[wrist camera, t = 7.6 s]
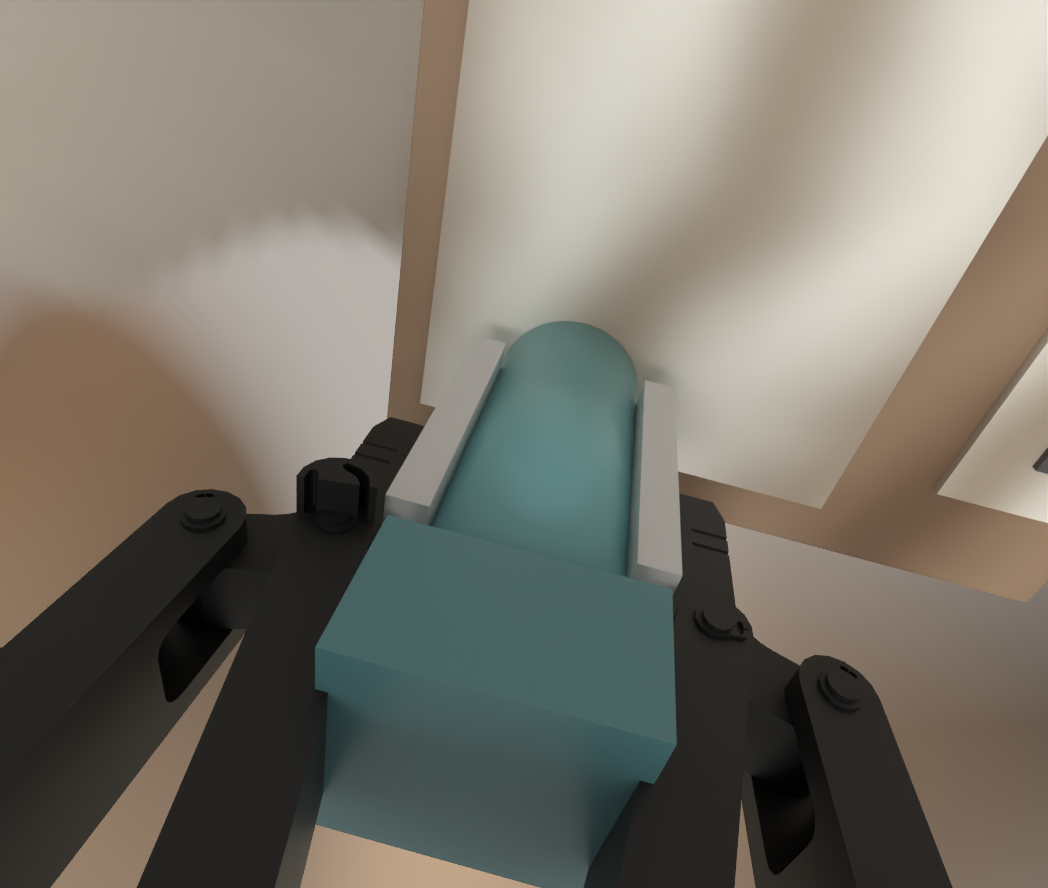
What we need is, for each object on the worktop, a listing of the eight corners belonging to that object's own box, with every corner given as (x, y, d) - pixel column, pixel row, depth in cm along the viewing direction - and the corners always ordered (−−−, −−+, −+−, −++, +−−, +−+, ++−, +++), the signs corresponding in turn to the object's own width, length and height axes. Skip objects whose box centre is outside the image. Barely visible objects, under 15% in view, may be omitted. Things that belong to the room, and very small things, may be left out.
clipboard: (396, 416, 21) (380, 441, 20) (468, -307, 12) (445, -344, 11) (1011, 579, 20) (1034, 615, 19) (1583, -54, 11) (1698, -64, 10)
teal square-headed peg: (482, 429, 19) (314, 824, 10) (506, 296, 17) (315, 647, 7) (621, 464, 19) (587, 900, 10) (665, 335, 17) (677, 744, 7)
